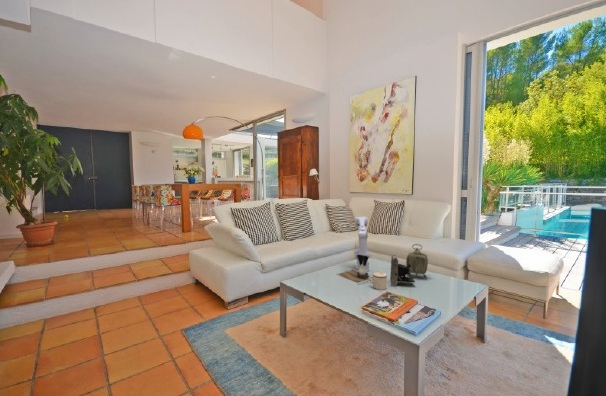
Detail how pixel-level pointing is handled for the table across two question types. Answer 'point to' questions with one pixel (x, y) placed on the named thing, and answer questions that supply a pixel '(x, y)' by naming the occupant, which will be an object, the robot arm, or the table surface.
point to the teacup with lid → (379, 280)
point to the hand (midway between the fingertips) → (362, 265)
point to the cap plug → (362, 270)
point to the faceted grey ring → (362, 276)
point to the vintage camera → (399, 272)
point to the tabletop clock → (417, 262)
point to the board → (352, 276)
